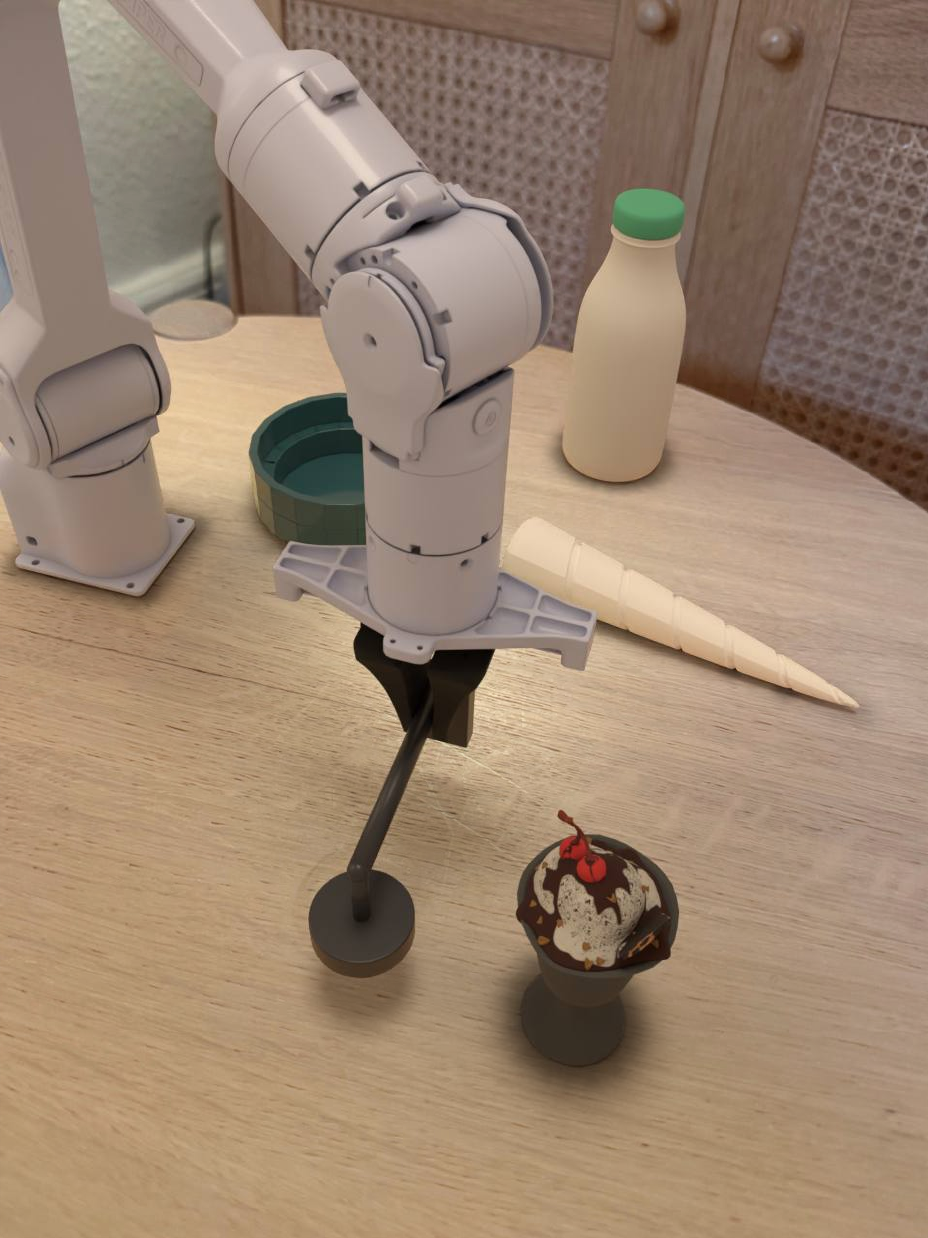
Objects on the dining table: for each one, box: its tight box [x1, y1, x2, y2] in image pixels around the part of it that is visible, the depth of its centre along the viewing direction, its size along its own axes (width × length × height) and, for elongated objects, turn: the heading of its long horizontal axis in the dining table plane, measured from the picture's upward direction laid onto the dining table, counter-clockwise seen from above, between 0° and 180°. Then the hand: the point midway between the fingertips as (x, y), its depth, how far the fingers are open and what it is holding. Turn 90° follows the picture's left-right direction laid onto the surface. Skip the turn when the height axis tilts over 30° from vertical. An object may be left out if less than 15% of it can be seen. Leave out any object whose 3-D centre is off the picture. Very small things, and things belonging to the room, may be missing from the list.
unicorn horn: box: [501, 516, 861, 708], centre depth 67 cm, size 5×24×5 cm, turn 57°
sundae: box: [515, 809, 680, 1066], centre depth 46 cm, size 7×7×15 cm
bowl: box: [248, 392, 366, 546], centre depth 77 cm, size 13×13×5 cm
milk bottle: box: [561, 188, 687, 483], centre depth 77 cm, size 8×8×20 cm
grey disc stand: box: [307, 658, 476, 979], centre depth 51 cm, size 15×5×6 cm, turn 163°
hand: (430, 722), depth 54 cm, fingers closed on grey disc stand
